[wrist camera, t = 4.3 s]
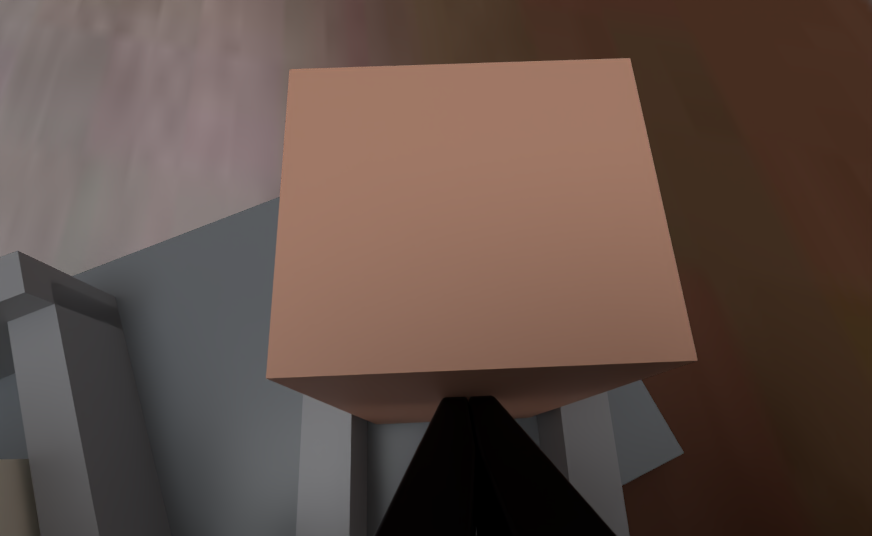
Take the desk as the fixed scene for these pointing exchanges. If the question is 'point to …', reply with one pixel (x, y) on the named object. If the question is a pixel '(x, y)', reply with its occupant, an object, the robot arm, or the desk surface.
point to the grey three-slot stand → (228, 404)
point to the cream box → (17, 499)
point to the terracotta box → (470, 239)
